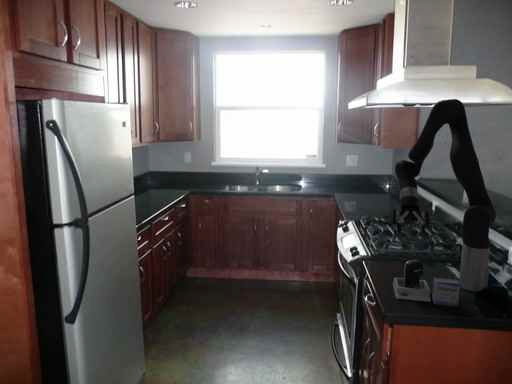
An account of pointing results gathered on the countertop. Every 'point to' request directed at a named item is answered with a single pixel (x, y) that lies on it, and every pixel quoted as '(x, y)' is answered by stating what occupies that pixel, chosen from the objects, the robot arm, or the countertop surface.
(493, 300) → the countertop surface
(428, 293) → the charging dock
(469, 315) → the countertop surface
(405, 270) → the battery charger
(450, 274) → the countertop surface
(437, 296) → the medicine box
